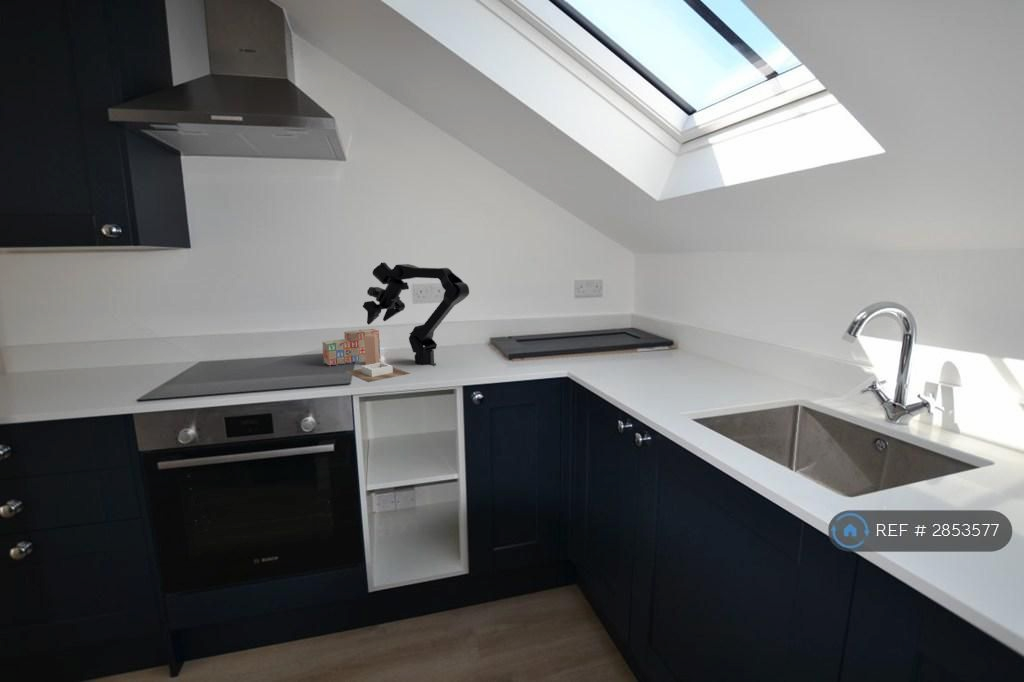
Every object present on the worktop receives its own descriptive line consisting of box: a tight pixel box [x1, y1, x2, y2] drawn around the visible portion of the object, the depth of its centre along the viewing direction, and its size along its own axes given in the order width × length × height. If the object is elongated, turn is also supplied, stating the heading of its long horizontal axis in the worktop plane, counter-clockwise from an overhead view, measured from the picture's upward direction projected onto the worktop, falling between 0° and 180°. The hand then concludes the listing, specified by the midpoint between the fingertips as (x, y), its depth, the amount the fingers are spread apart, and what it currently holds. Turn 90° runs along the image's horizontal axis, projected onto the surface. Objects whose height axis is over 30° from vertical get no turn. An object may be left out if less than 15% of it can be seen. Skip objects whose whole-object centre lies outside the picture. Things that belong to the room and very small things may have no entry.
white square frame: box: [361, 361, 393, 377], centre depth 170 cm, size 8×8×2 cm
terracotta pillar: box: [364, 334, 380, 365], centre depth 183 cm, size 4×4×12 cm
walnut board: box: [345, 366, 411, 383], centre depth 170 cm, size 16×19×1 cm
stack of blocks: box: [322, 328, 381, 365], centre depth 193 cm, size 21×6×12 cm, turn 129°
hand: (376, 322), depth 191 cm, fingers open, 9 cm apart
